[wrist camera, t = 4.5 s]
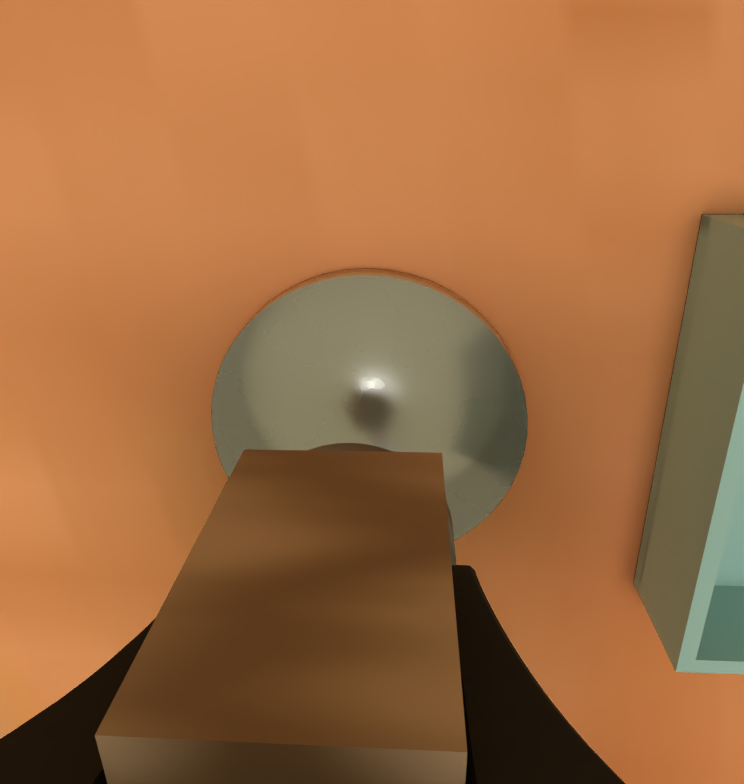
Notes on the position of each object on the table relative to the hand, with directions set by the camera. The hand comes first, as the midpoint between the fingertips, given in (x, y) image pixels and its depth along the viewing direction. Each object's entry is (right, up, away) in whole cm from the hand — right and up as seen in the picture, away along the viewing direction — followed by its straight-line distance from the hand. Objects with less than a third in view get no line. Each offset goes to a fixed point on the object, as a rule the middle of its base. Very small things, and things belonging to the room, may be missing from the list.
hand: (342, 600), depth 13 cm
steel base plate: (+1, +3, +8) cm, 9 cm away
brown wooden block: (0, +1, +2) cm, 2 cm away
